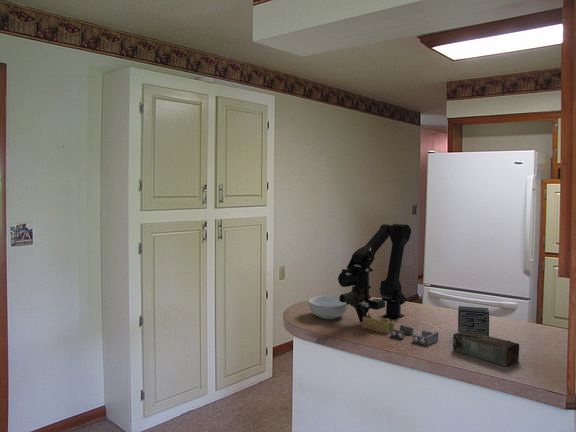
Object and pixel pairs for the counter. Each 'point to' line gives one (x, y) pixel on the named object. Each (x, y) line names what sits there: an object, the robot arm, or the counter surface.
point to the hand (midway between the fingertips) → (361, 322)
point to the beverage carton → (486, 348)
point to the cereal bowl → (327, 307)
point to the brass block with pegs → (378, 323)
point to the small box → (473, 320)
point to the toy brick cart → (425, 339)
